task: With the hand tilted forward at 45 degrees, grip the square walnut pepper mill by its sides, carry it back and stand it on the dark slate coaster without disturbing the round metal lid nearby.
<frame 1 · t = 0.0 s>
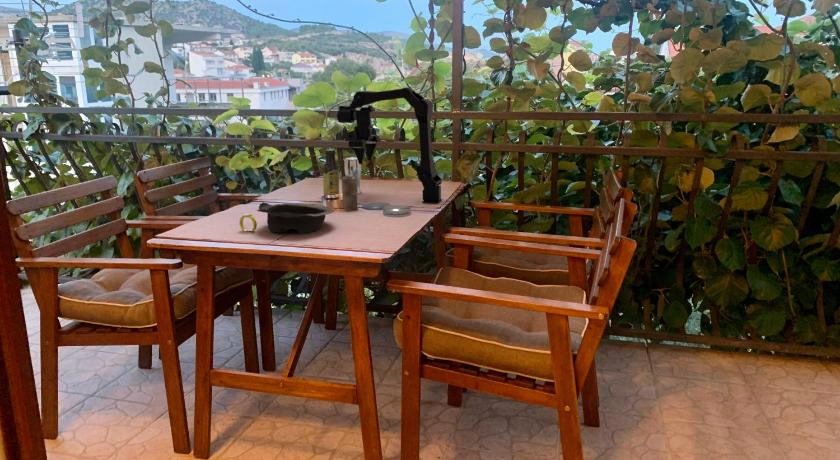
hand: (365, 162, 242), 15 cm above the table, tool pointing down, fingers open, 9 cm apart
watch: (248, 232, 198), on the table
coaster: (376, 206, 231), on the table
stone bowl: (298, 229, 202), on the table
round metal lid: (396, 214, 220), on the table
pepper mill: (350, 209, 227), on the table
sauce bottle: (331, 198, 247), on the table
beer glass: (354, 193, 255), on the table
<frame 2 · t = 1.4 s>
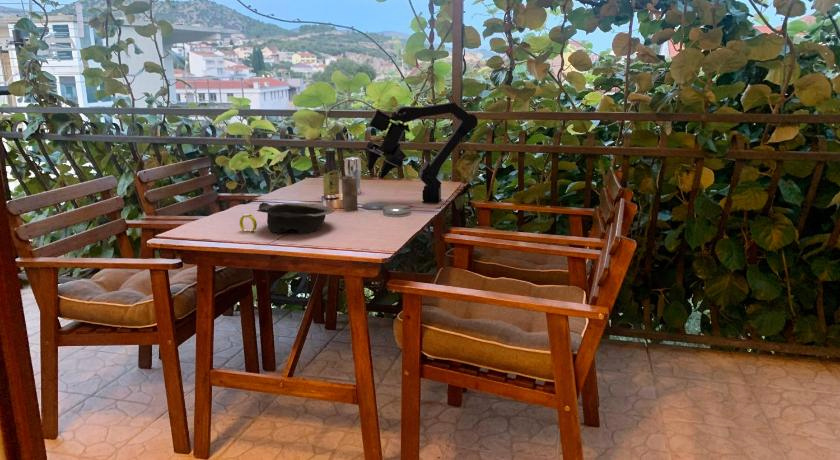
hand: (375, 173, 232), 12 cm above the table, tool tilted 30°, fingers open, 9 cm apart
nothing on the table moved.
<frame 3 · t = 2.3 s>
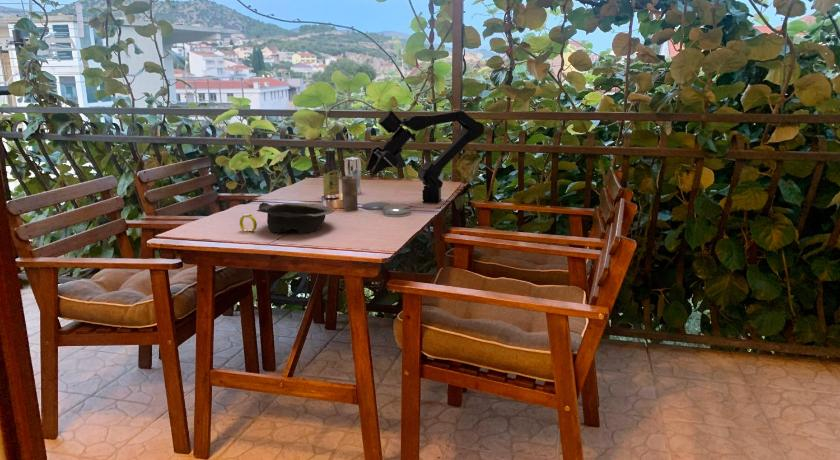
hand: (369, 172, 226), 13 cm above the table, tool tilted 45°, fingers open, 9 cm apart
nothing on the table moved.
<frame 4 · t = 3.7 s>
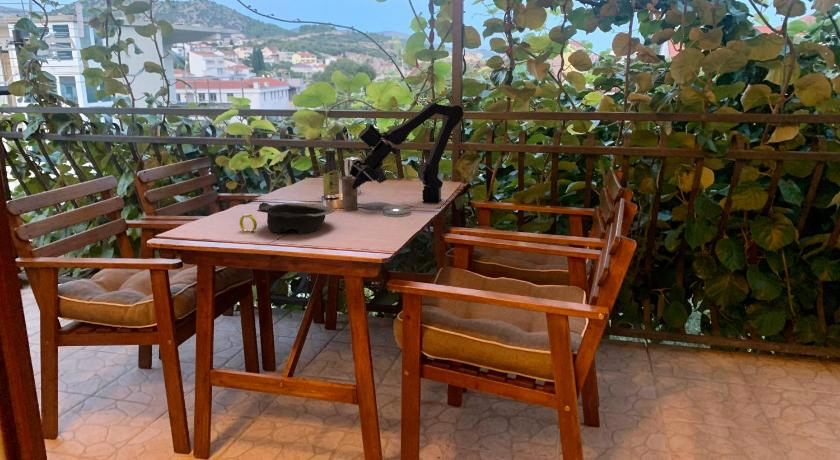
hand: (350, 186, 225), 9 cm above the table, tool tilted 45°, fingers open, 9 cm apart
nothing on the table moved.
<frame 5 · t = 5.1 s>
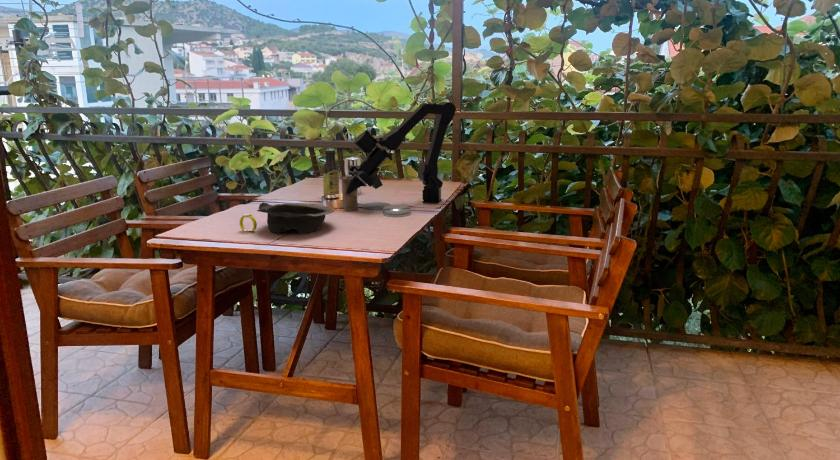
hand: (345, 192, 225), 7 cm above the table, tool tilted 45°, fingers closed on pepper mill, 5 cm apart
pepper mill: (350, 209, 227), on the table, touching gripper
everything else where it was.
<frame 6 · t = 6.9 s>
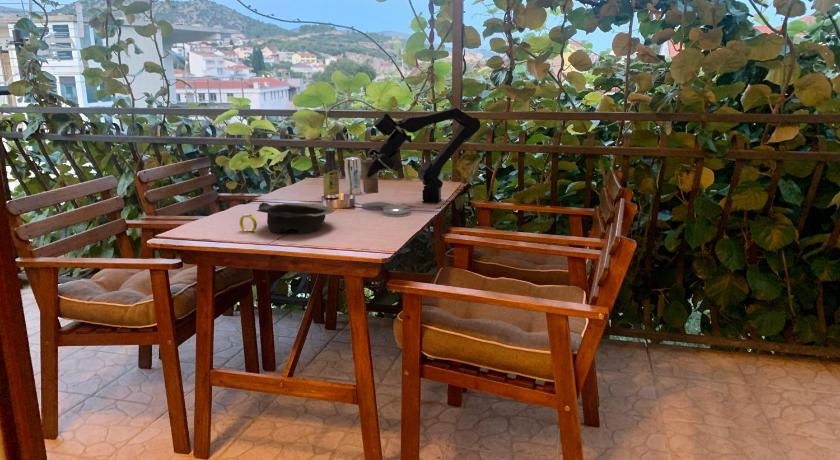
hand: (366, 175, 226), 12 cm above the table, tool tilted 45°, fingers closed on pepper mill, 5 cm apart
pepper mill: (371, 192, 228), point 6 cm above the table, touching gripper
everything else where it was.
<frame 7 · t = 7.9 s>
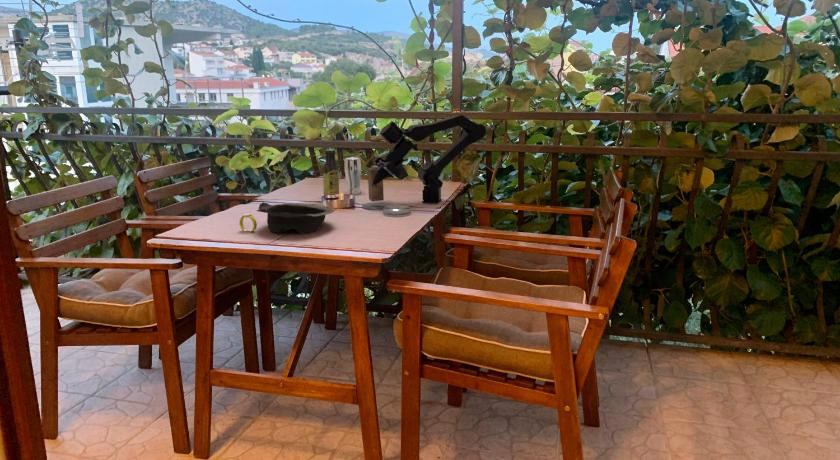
hand: (372, 183, 228), 9 cm above the table, tool tilted 45°, fingers closed on pepper mill, 5 cm apart
pepper mill: (376, 199, 230), point 3 cm above the table, touching gripper
everything else where it was.
when the fingers open (8 cm above the table, at t = 8.6 s): pepper mill stays where it is, resting on coaster.
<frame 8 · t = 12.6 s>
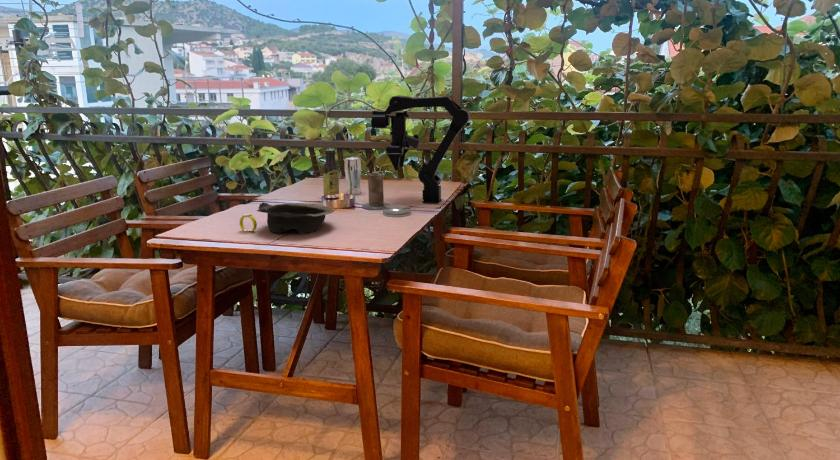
hand: (399, 168, 237), 13 cm above the table, tool pointing down, fingers open, 9 cm apart
pepper mill: (376, 205, 231), resting on coaster
everything else where it was.
at the end: pepper mill inside the target area on the coaster (0.1 cm from its centre), point 0.5 cm above the coaster's base; pepper mill tilted 0°; round metal lid moved 0.3 cm from its start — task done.
